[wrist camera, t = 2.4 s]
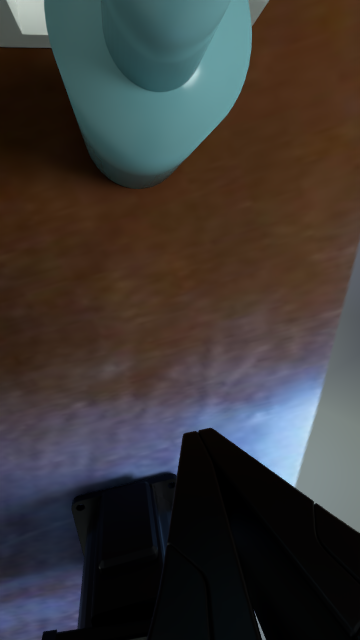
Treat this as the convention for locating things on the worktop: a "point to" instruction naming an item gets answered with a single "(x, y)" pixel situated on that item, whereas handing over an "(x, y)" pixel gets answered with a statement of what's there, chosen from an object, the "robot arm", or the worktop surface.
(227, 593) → the robot arm
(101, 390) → the worktop surface
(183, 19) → the bottle
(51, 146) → the worktop surface
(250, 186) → the worktop surface
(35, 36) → the u rest
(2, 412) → the worktop surface
